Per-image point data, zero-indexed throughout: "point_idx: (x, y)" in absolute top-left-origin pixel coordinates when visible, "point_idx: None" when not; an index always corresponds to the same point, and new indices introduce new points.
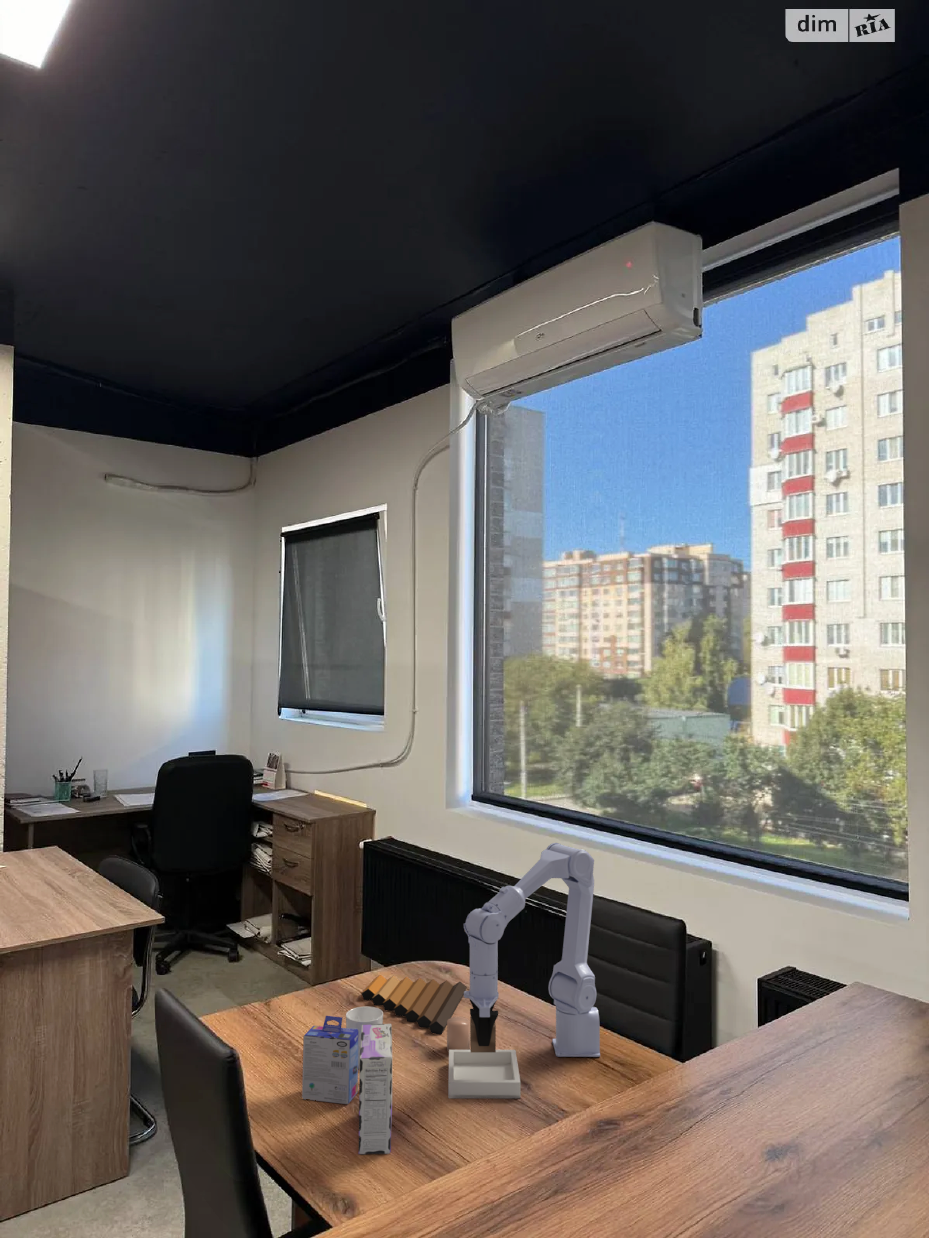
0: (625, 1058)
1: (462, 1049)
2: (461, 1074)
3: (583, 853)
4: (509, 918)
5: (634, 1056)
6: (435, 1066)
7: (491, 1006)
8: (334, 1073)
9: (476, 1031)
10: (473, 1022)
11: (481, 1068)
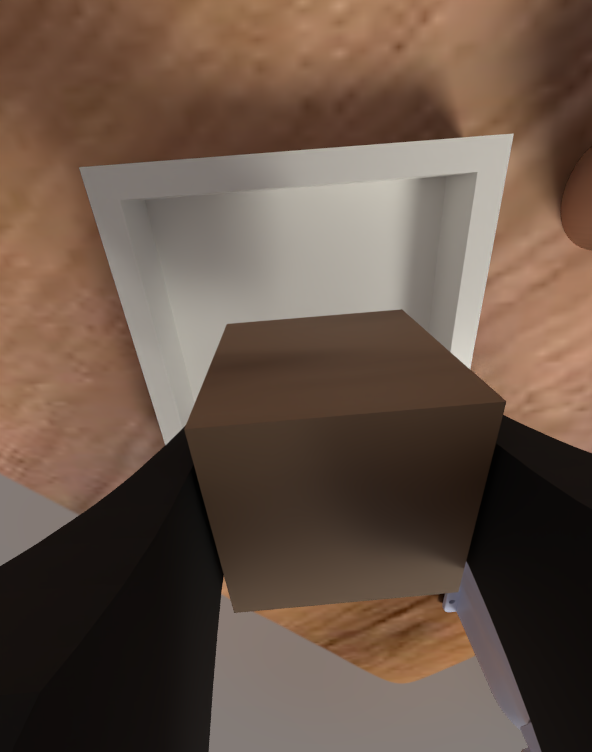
0: (429, 638)
1: (578, 216)
2: (328, 228)
3: None
4: None
5: (436, 649)
6: (453, 55)
7: (529, 685)
8: None
9: (140, 469)
10: (317, 446)
11: None
